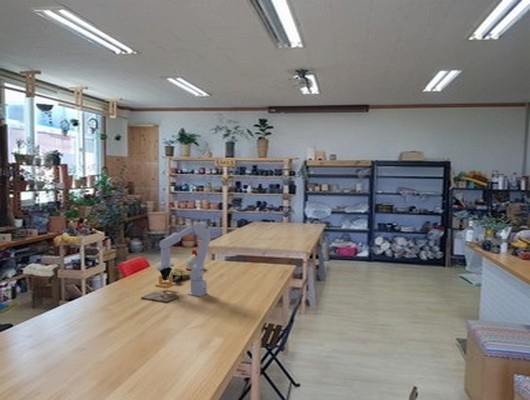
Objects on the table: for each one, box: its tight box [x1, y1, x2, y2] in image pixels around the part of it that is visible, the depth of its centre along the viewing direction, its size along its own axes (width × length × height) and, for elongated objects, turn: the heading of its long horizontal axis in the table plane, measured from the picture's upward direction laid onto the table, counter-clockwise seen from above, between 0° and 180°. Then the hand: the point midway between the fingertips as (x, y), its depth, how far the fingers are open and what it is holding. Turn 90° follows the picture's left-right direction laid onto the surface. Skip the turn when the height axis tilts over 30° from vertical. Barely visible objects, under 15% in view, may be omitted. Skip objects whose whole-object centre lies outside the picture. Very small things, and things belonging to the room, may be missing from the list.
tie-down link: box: [154, 274, 177, 289], centre depth 250 cm, size 9×9×6 cm
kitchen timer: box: [185, 249, 205, 272], centre depth 313 cm, size 14×14×15 cm
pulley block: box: [169, 268, 191, 283], centre depth 280 cm, size 14×6×30 cm
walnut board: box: [140, 291, 180, 304], centre depth 236 cm, size 18×12×1 cm, turn 68°
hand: (165, 280), depth 250 cm, fingers closed on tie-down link
